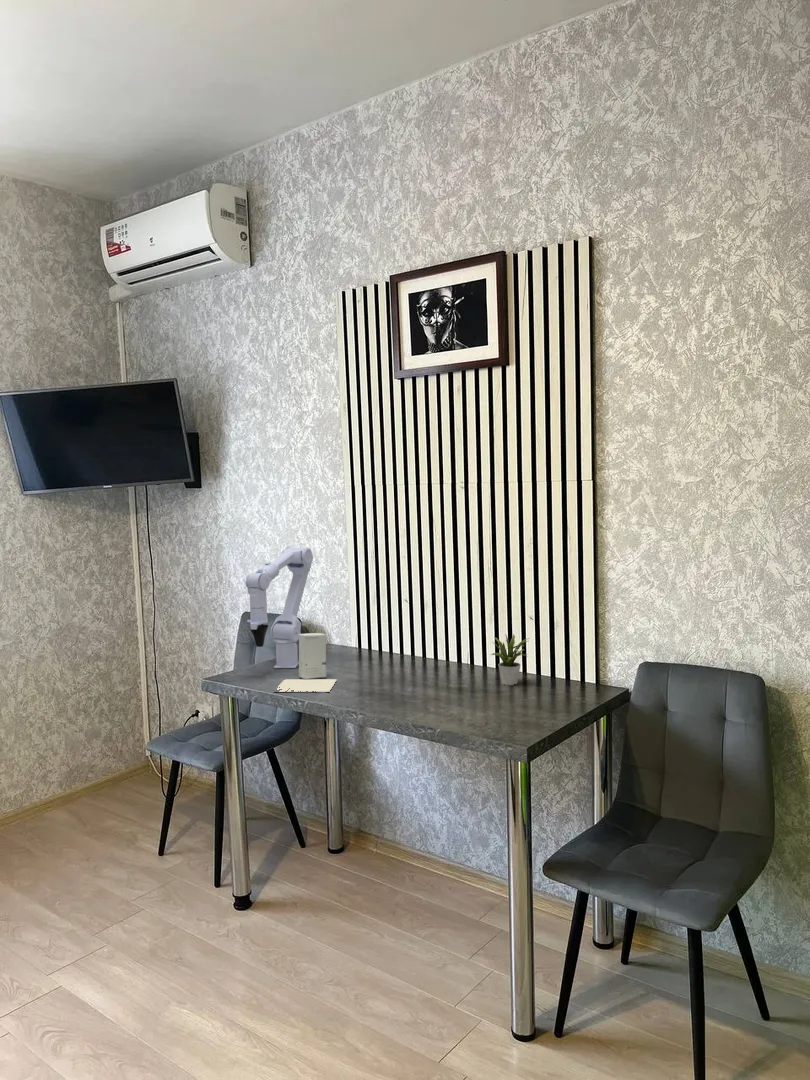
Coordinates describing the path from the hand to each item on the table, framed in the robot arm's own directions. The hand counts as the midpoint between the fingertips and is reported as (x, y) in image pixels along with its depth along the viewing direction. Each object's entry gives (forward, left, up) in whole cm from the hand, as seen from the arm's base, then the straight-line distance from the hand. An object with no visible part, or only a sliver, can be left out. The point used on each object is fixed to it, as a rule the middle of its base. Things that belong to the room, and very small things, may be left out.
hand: (259, 646), depth 275 cm
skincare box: (+3, +19, -10) cm, 22 cm away
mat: (+14, +19, -10) cm, 26 cm away
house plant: (+12, +86, -11) cm, 87 cm away
